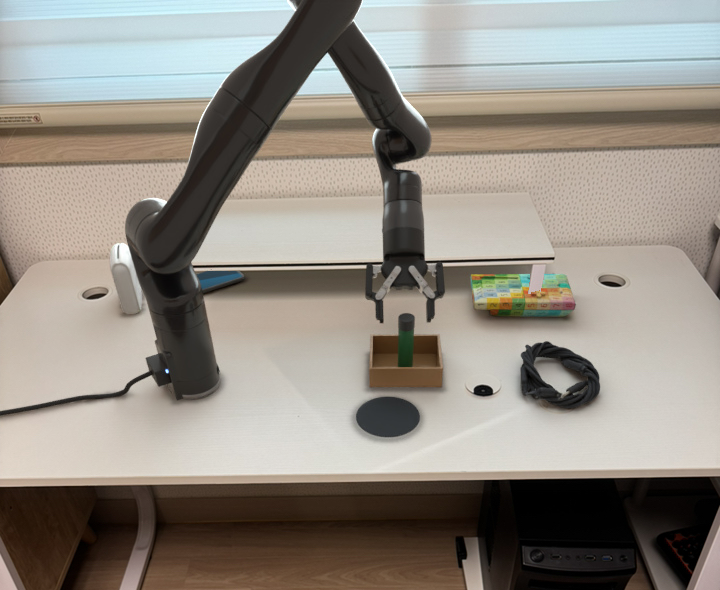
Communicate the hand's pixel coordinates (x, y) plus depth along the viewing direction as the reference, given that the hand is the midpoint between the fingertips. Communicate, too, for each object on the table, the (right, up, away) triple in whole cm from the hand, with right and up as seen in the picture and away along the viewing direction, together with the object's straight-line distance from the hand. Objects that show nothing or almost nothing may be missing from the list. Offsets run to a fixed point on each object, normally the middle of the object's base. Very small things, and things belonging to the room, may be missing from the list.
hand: (405, 322), depth 125 cm
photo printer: (-57, +10, +24) cm, 63 cm away
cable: (+28, -10, +2) cm, 30 cm away
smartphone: (-42, +15, +30) cm, 54 cm away
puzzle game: (+25, +8, +20) cm, 33 cm away
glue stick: (0, -8, +4) cm, 9 cm away
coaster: (-3, -18, -5) cm, 19 cm away
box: (0, -8, +4) cm, 9 cm away
